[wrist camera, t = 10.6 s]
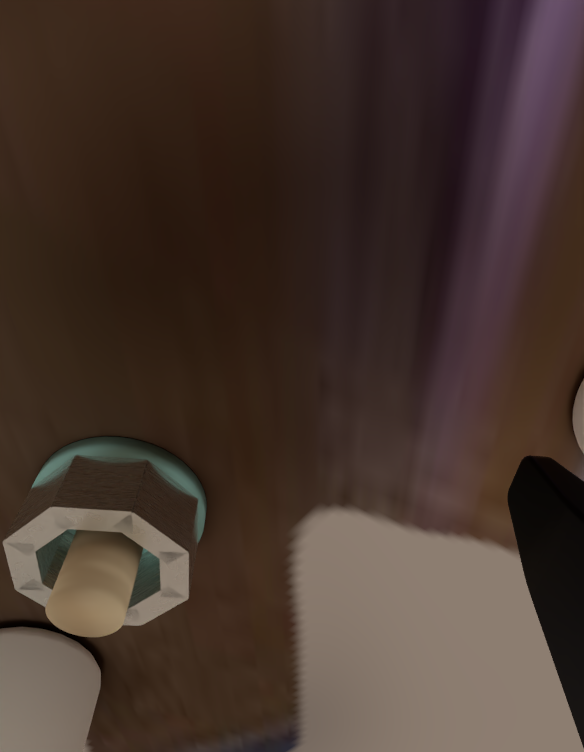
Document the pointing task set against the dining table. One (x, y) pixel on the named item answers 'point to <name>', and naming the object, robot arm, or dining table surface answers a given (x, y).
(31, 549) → the ring
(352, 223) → the dining table surface
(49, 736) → the potion bottle
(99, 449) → the post
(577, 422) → the mug
